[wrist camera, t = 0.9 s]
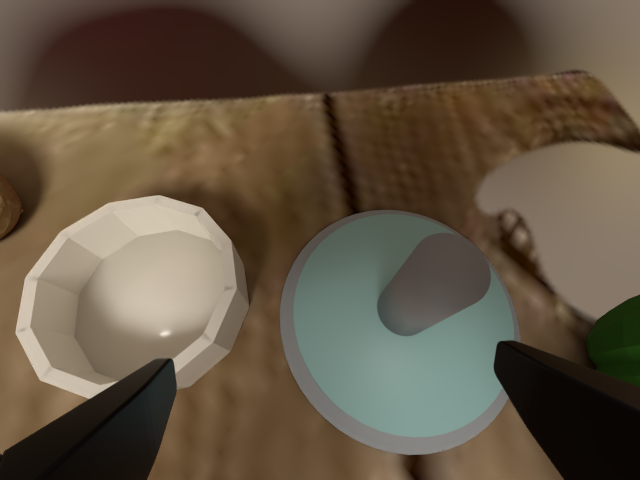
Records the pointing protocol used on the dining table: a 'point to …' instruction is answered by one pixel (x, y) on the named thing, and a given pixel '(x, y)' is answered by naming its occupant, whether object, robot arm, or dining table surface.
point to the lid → (402, 324)
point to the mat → (334, 412)
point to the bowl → (133, 296)
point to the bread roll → (8, 207)
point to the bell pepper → (617, 342)
